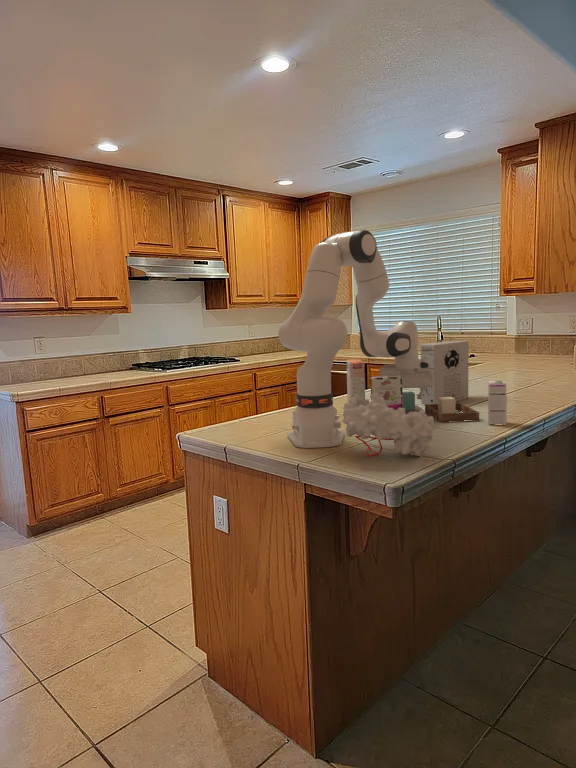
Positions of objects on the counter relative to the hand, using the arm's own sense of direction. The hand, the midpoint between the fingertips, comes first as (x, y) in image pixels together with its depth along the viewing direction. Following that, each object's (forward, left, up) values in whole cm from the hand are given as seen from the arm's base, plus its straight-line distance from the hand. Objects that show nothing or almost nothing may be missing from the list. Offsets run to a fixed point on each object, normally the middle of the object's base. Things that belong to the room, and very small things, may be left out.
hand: (406, 399), depth 201 cm
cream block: (-4, -14, -6) cm, 16 cm away
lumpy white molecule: (-55, +19, -6) cm, 58 cm away
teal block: (0, 0, -3) cm, 3 cm away
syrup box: (-24, -25, -6) cm, 35 cm away
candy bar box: (-12, +10, -6) cm, 16 cm away
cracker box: (+4, +19, -6) cm, 20 cm away
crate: (-9, -14, -5) cm, 17 cm away
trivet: (0, 0, -5) cm, 5 cm away
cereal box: (+21, -21, -6) cm, 30 cm away
